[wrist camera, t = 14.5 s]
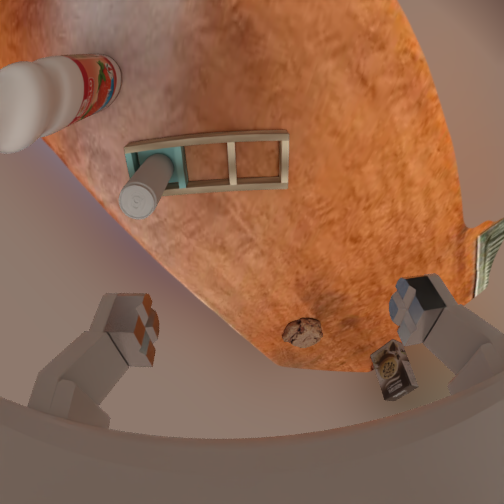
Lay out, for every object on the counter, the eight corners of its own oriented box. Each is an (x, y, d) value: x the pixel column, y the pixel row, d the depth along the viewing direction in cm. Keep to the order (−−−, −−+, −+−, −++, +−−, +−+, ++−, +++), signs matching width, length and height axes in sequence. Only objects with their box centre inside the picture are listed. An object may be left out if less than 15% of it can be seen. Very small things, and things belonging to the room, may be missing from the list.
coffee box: (392, 338, 73) (410, 384, 60) (402, 343, 75) (419, 386, 62) (369, 355, 77) (383, 400, 64) (380, 359, 80) (394, 402, 67)
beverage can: (178, 156, 40) (159, 190, 30) (170, 184, 43) (151, 224, 33) (148, 149, 39) (120, 179, 29) (142, 177, 41) (115, 215, 32)
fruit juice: (92, 43, 28) (-60, 60, 5) (135, 73, 32) (-6, 108, 9) (61, 93, 31) (-80, 161, 9) (100, 123, 36) (-30, 216, 13)
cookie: (301, 346, 71) (303, 355, 69) (273, 332, 67) (274, 342, 64) (331, 327, 67) (334, 336, 65) (304, 310, 62) (307, 321, 60)
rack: (129, 142, 38) (123, 147, 36) (286, 130, 39) (289, 133, 37) (139, 192, 43) (134, 199, 41) (285, 182, 44) (287, 188, 42)
